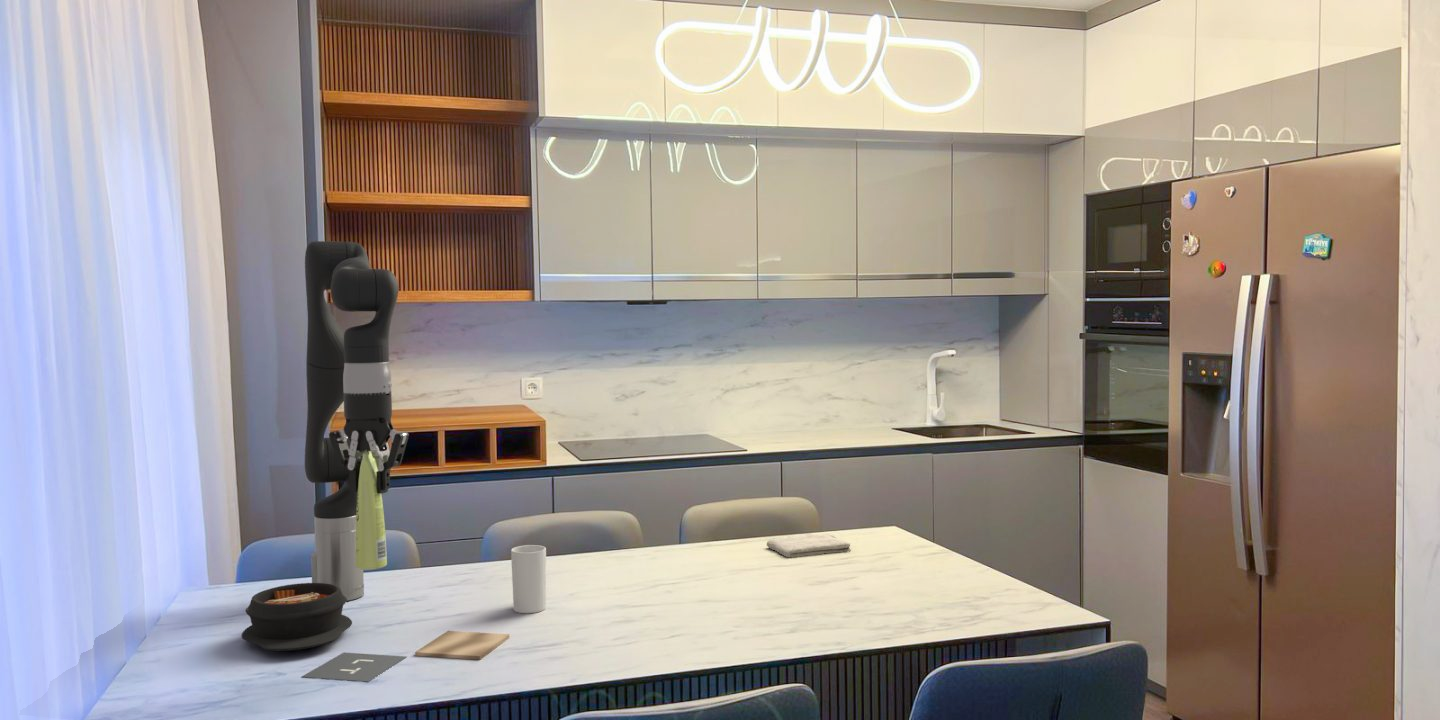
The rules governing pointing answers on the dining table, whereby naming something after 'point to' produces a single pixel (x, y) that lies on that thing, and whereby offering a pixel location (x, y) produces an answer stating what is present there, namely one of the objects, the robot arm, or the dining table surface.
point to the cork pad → (462, 645)
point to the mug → (529, 578)
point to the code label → (355, 667)
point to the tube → (369, 519)
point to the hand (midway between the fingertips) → (370, 491)
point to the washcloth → (808, 545)
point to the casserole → (296, 616)
